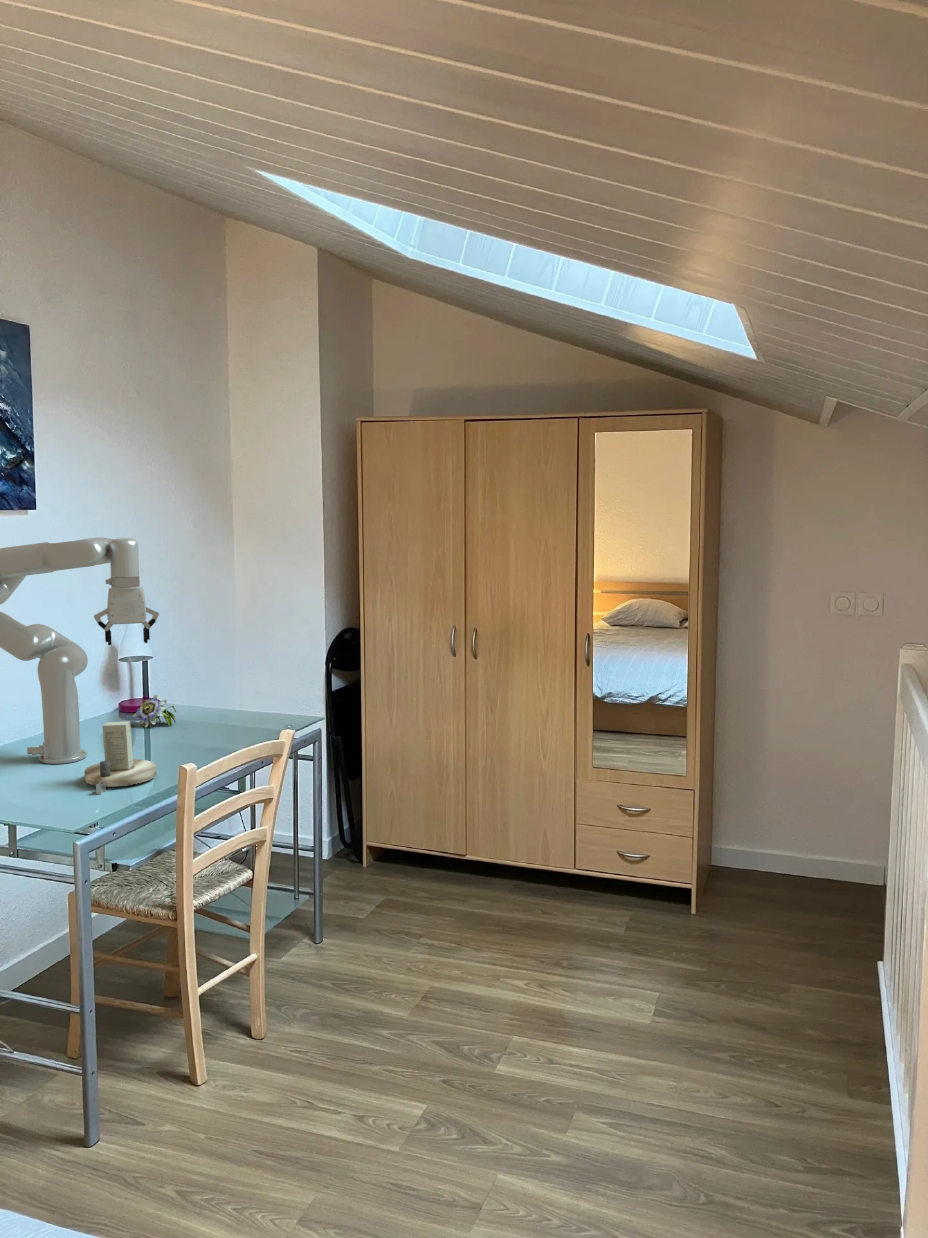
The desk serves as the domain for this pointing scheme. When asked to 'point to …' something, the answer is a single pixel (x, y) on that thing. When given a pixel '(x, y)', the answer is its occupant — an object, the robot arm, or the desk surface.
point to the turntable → (120, 773)
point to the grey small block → (101, 787)
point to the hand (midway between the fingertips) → (127, 643)
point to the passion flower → (153, 712)
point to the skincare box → (118, 745)
